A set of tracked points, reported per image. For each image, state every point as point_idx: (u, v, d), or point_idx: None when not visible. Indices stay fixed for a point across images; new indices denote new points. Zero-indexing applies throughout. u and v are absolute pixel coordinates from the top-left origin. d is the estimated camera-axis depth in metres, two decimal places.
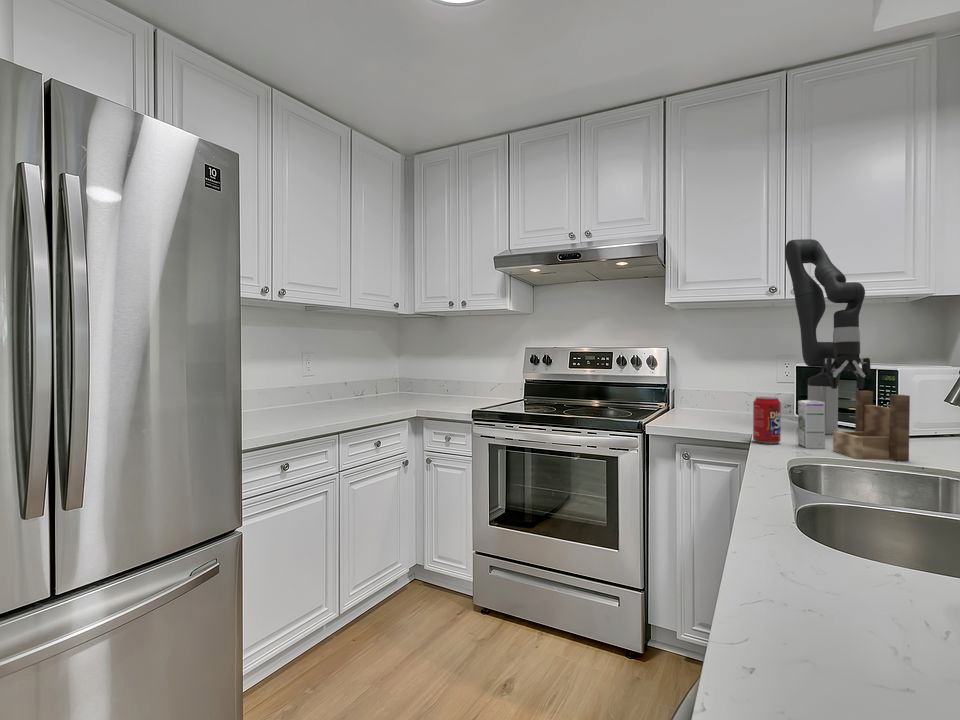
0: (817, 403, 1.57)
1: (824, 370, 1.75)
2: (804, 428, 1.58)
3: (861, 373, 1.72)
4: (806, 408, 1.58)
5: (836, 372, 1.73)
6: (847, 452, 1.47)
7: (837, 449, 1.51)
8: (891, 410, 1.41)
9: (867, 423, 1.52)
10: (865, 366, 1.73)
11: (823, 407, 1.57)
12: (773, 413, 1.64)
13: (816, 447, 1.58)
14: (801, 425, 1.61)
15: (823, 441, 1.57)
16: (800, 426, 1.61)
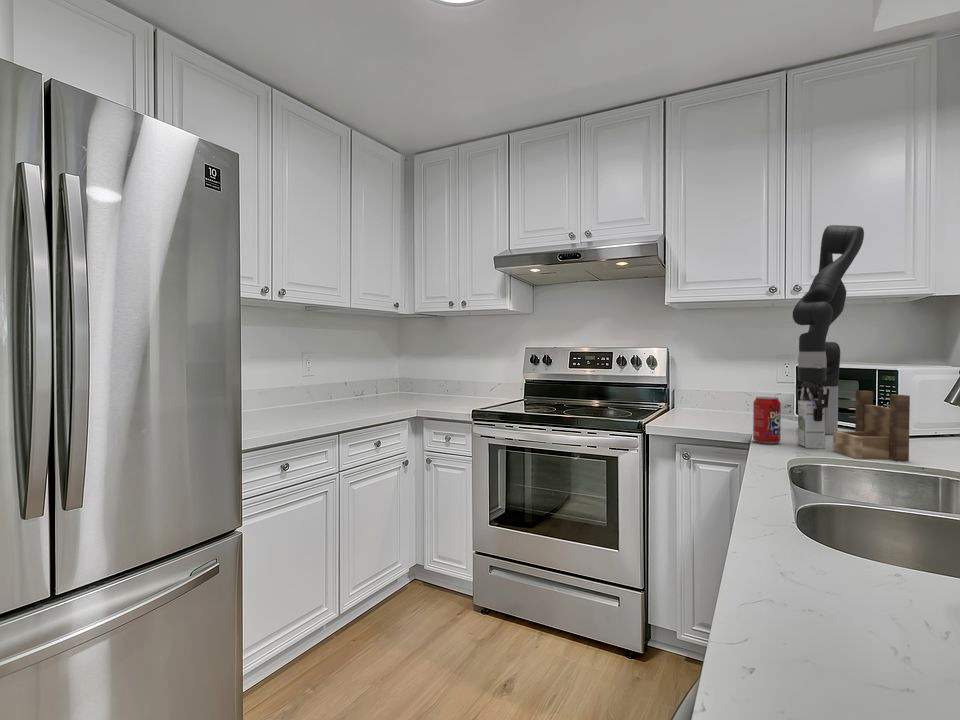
0: None
1: None
2: (804, 428, 1.58)
3: None
4: (806, 408, 1.58)
5: None
6: (847, 452, 1.47)
7: (837, 449, 1.51)
8: (891, 410, 1.41)
9: (867, 423, 1.52)
10: None
11: None
12: (773, 413, 1.64)
13: (816, 447, 1.58)
14: (801, 425, 1.61)
15: (823, 441, 1.57)
16: (800, 426, 1.61)
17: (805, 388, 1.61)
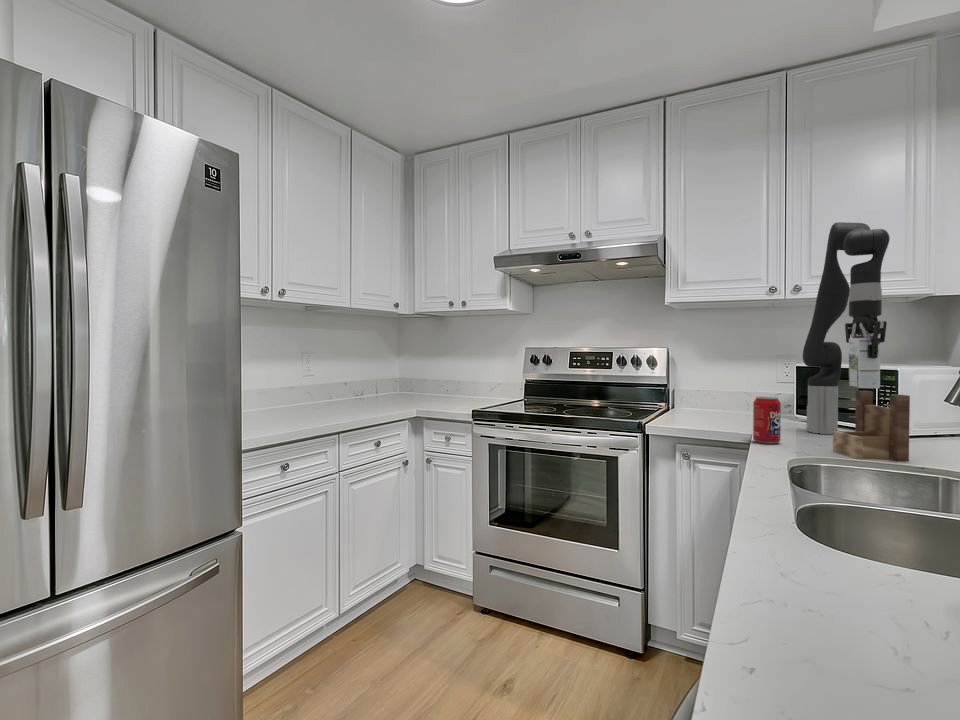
0: None
1: None
2: (857, 367, 1.46)
3: None
4: (859, 344, 1.45)
5: None
6: (847, 452, 1.47)
7: (837, 449, 1.51)
8: (891, 410, 1.41)
9: (867, 423, 1.52)
10: None
11: None
12: (773, 413, 1.64)
13: (870, 387, 1.45)
14: (852, 364, 1.48)
15: (878, 380, 1.44)
16: (851, 365, 1.49)
17: (857, 324, 1.48)
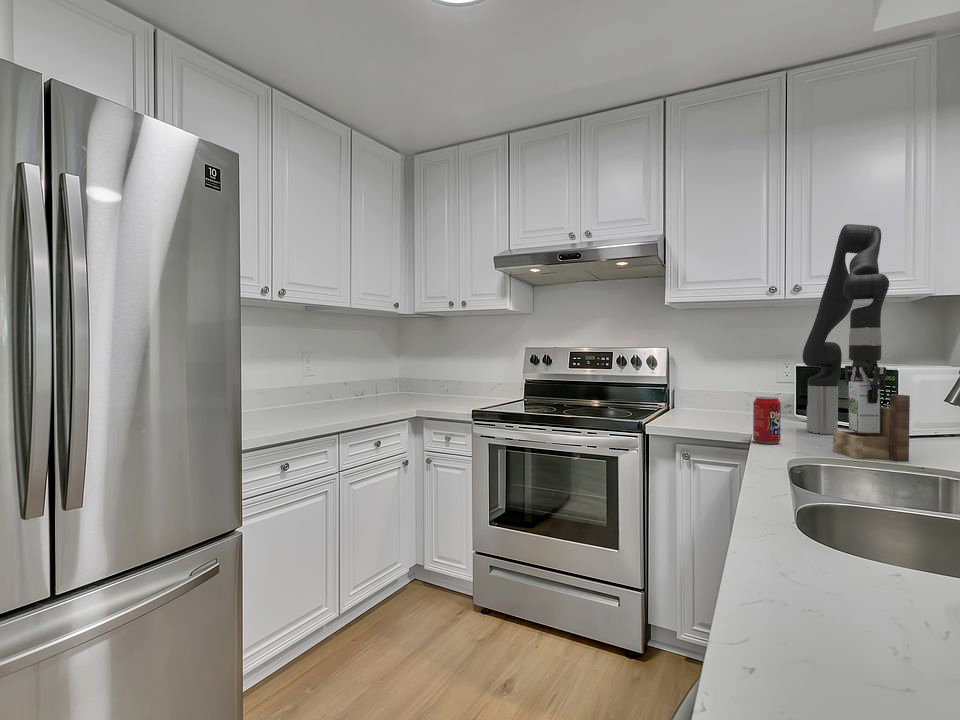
0: None
1: None
2: (857, 411, 1.46)
3: None
4: (859, 389, 1.45)
5: None
6: (847, 452, 1.47)
7: (837, 449, 1.51)
8: (891, 410, 1.41)
9: None
10: None
11: None
12: (773, 413, 1.64)
13: (870, 431, 1.45)
14: (852, 408, 1.48)
15: (878, 424, 1.45)
16: (851, 409, 1.49)
17: (857, 368, 1.48)
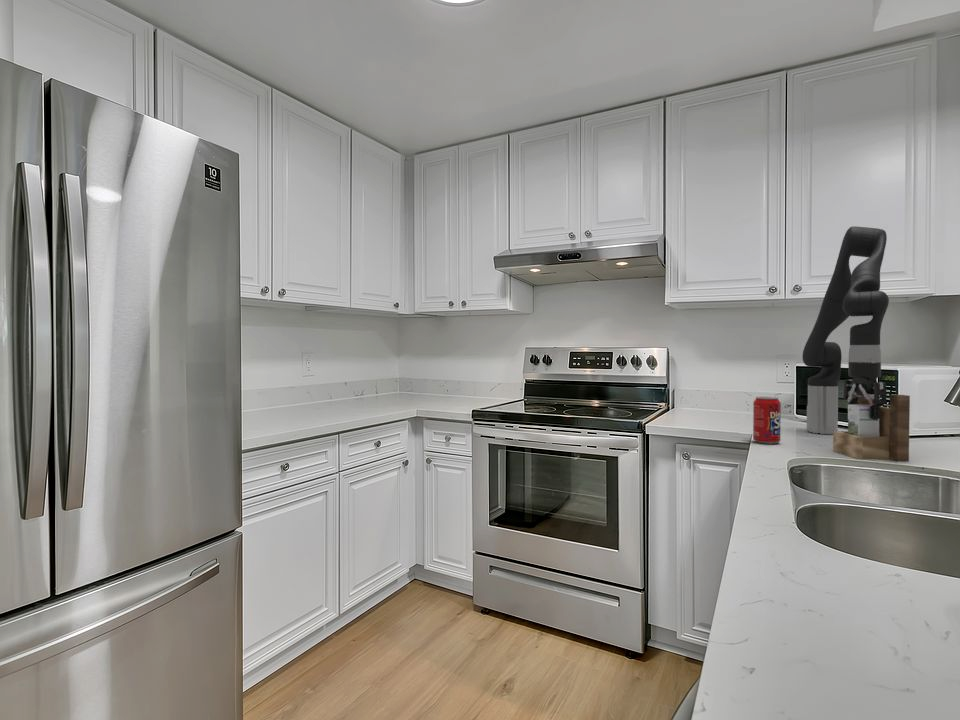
0: None
1: None
2: (857, 435, 1.46)
3: None
4: (859, 413, 1.45)
5: None
6: (847, 452, 1.47)
7: (837, 449, 1.51)
8: (891, 410, 1.41)
9: None
10: None
11: None
12: (773, 413, 1.64)
13: None
14: (852, 431, 1.48)
15: None
16: (851, 432, 1.49)
17: (857, 385, 1.48)
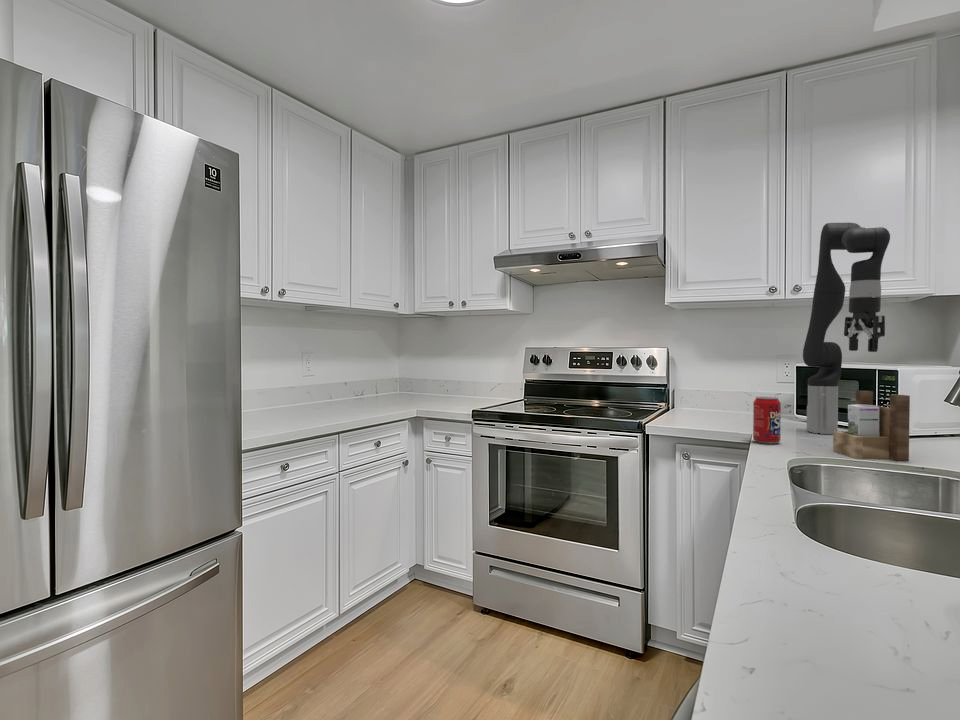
0: (871, 408, 1.45)
1: None
2: (857, 435, 1.46)
3: None
4: (859, 413, 1.45)
5: None
6: (847, 452, 1.47)
7: (837, 449, 1.51)
8: (891, 410, 1.41)
9: None
10: None
11: (878, 412, 1.45)
12: (773, 413, 1.64)
13: None
14: (852, 431, 1.48)
15: None
16: (851, 432, 1.49)
17: (857, 320, 1.52)
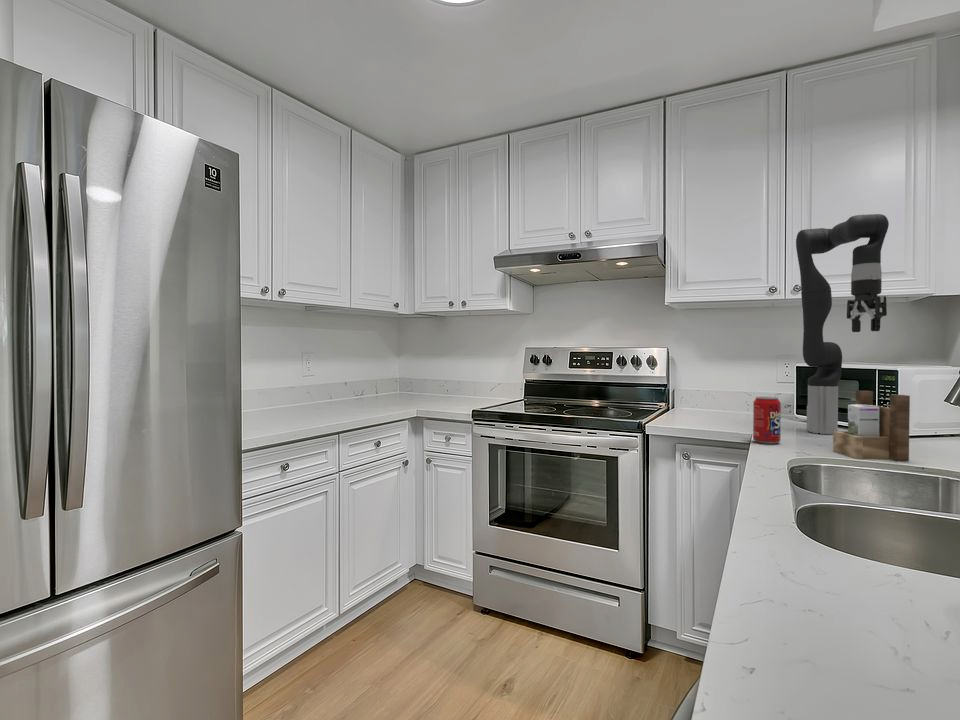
0: (871, 408, 1.45)
1: None
2: (857, 435, 1.46)
3: None
4: (859, 413, 1.45)
5: None
6: (847, 452, 1.47)
7: (837, 449, 1.51)
8: (891, 410, 1.41)
9: None
10: None
11: (878, 412, 1.45)
12: (773, 413, 1.64)
13: None
14: (852, 431, 1.48)
15: None
16: (851, 432, 1.49)
17: (859, 302, 1.59)
